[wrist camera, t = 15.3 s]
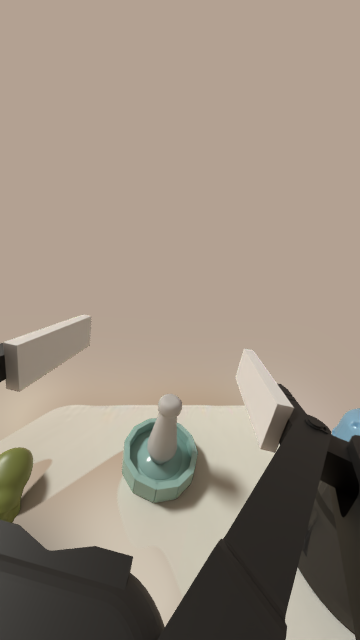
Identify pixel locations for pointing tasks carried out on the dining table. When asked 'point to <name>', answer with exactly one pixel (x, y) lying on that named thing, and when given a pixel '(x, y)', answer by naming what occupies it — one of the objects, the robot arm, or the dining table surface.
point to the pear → (13, 480)
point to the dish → (153, 477)
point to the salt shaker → (165, 430)
